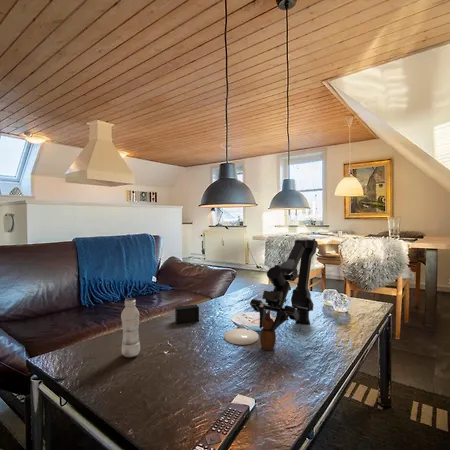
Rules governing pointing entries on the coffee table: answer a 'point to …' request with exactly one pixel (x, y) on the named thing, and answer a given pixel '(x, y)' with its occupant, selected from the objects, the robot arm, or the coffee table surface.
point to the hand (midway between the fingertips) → (266, 329)
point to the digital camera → (186, 314)
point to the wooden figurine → (267, 333)
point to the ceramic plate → (241, 336)
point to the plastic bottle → (130, 329)
